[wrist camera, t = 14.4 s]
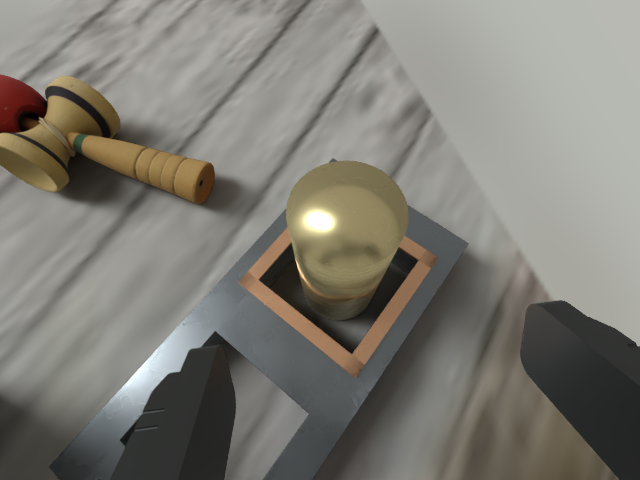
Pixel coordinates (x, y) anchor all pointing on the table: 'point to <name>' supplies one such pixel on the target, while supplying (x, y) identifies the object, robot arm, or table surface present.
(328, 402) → the grey flat frame
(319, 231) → the brass peg
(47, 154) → the kendama
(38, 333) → the table surface
